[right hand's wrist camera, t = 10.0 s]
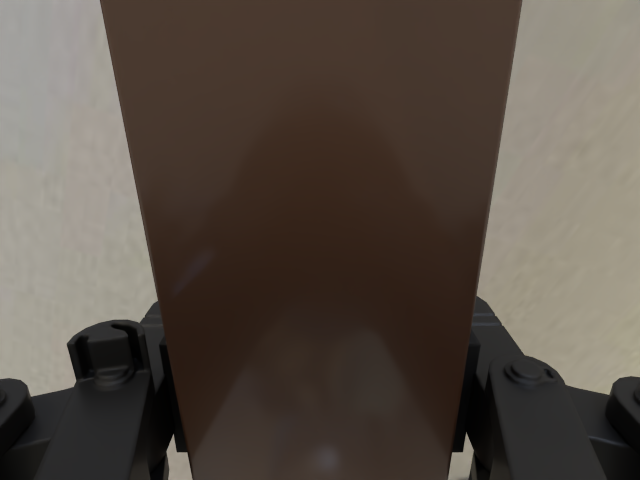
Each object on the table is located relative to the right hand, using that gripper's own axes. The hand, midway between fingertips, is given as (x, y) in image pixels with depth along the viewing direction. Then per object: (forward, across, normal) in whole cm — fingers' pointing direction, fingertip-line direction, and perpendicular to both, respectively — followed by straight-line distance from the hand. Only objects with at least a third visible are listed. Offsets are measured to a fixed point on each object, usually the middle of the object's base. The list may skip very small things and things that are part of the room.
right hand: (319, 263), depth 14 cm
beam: (-1, 0, -12) cm, 12 cm away
